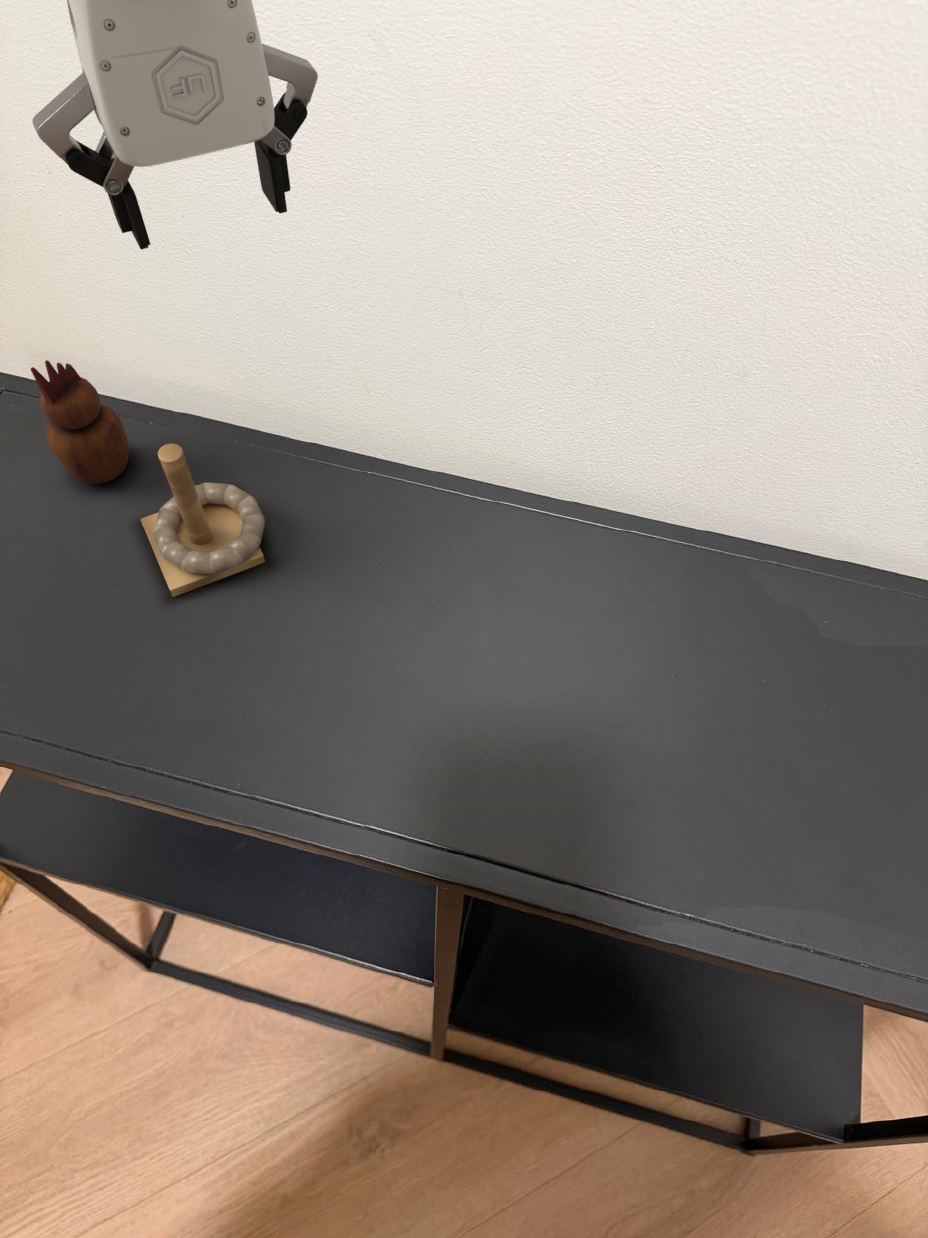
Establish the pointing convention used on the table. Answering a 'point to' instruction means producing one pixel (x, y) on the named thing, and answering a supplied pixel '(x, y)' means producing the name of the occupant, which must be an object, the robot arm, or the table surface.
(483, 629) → the table surface
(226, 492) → the ring
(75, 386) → the wooden figurine
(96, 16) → the robot arm
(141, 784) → the table surface
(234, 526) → the post
